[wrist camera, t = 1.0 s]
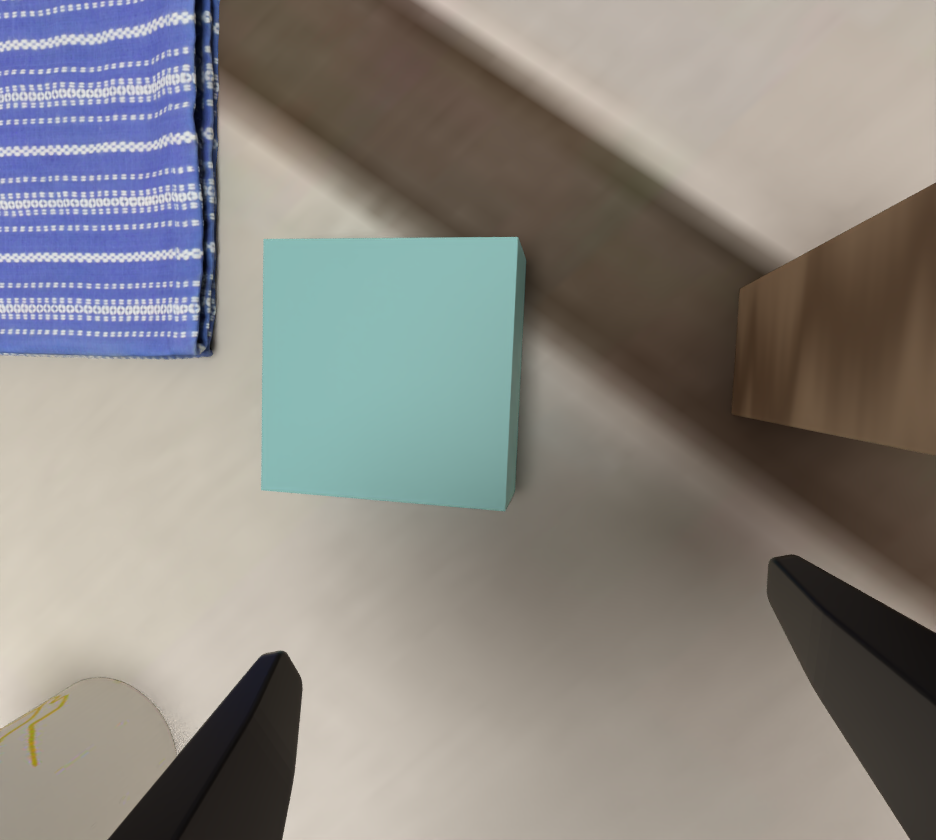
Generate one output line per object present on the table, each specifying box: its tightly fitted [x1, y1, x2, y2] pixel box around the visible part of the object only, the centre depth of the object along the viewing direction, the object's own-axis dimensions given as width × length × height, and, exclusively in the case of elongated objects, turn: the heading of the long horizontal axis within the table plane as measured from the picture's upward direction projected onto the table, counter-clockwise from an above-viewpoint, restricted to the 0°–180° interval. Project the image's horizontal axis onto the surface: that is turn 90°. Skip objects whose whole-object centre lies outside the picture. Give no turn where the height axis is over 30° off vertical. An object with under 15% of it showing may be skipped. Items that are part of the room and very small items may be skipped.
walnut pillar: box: [731, 183, 936, 456], centre depth 15 cm, size 5×5×13 cm
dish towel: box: [0, 0, 220, 359], centre depth 25 cm, size 17×24×3 cm
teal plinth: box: [261, 237, 526, 511], centre depth 22 cm, size 10×10×4 cm
